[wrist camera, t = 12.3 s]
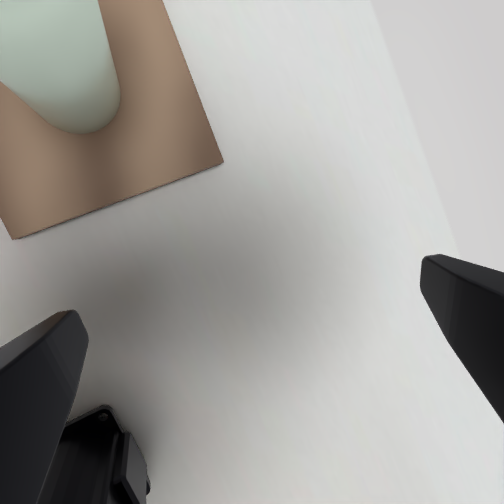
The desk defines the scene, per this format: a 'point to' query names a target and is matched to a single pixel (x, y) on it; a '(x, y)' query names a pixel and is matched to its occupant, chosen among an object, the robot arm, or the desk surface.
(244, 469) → the desk surface
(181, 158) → the walnut board
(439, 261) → the robot arm
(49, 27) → the sage bottle
